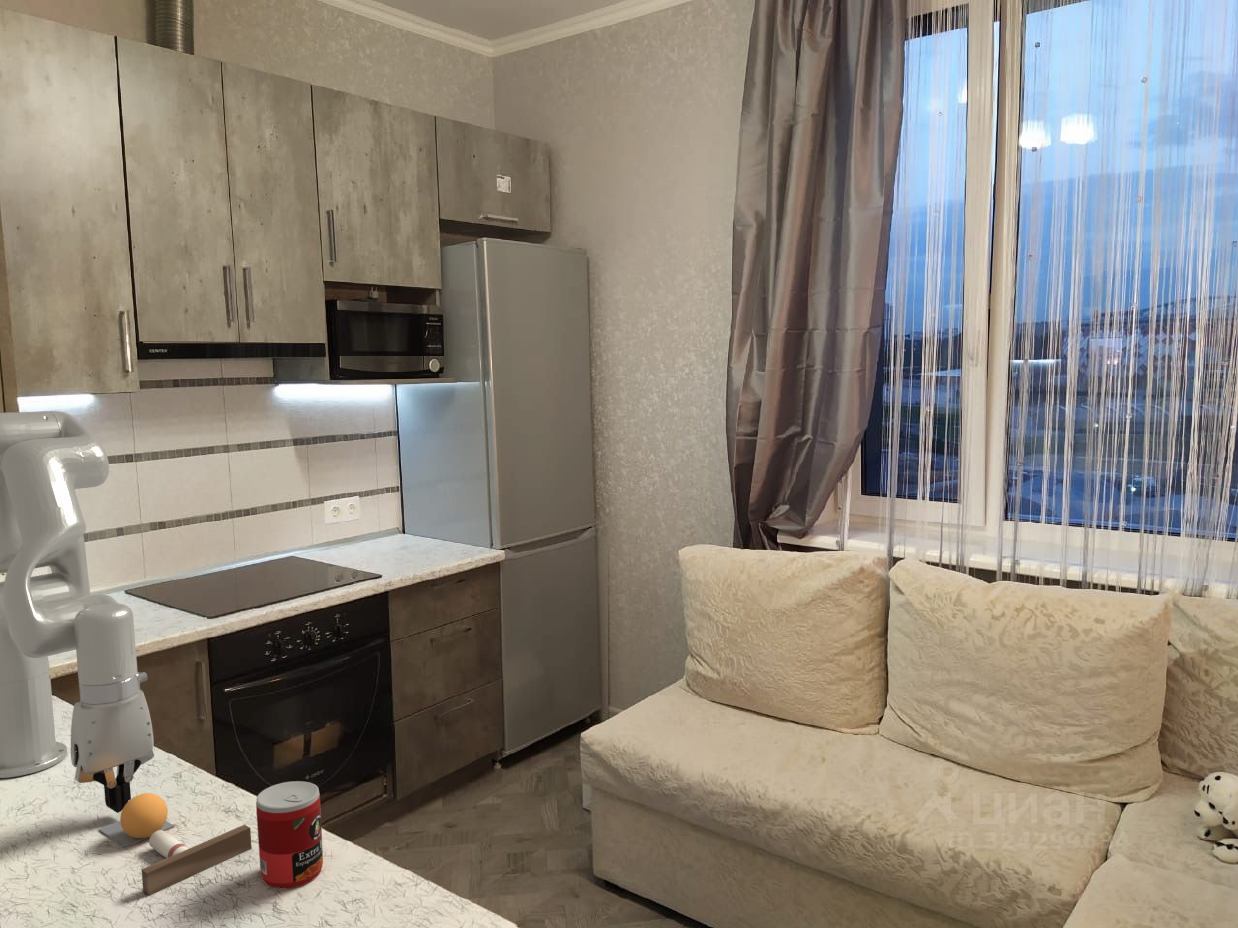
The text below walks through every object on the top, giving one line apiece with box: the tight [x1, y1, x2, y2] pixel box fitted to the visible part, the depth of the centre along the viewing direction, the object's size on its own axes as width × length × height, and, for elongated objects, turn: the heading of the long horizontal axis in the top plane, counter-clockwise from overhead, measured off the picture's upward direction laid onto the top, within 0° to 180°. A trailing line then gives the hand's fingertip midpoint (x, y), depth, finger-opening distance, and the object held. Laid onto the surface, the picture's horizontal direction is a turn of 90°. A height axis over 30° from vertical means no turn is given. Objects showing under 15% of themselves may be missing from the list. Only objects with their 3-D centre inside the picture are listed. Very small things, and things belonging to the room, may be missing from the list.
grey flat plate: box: [98, 820, 175, 848], centre depth 131 cm, size 8×7×1 cm
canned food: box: [255, 780, 324, 890], centre depth 118 cm, size 8×8×11 cm
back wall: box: [141, 824, 253, 897], centre depth 120 cm, size 2×14×3 cm, turn 142°
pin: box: [148, 830, 190, 859], centre depth 123 cm, size 2×2×8 cm
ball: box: [119, 792, 169, 839], centre depth 129 cm, size 6×6×6 cm
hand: (118, 807), depth 134 cm, fingers closed
